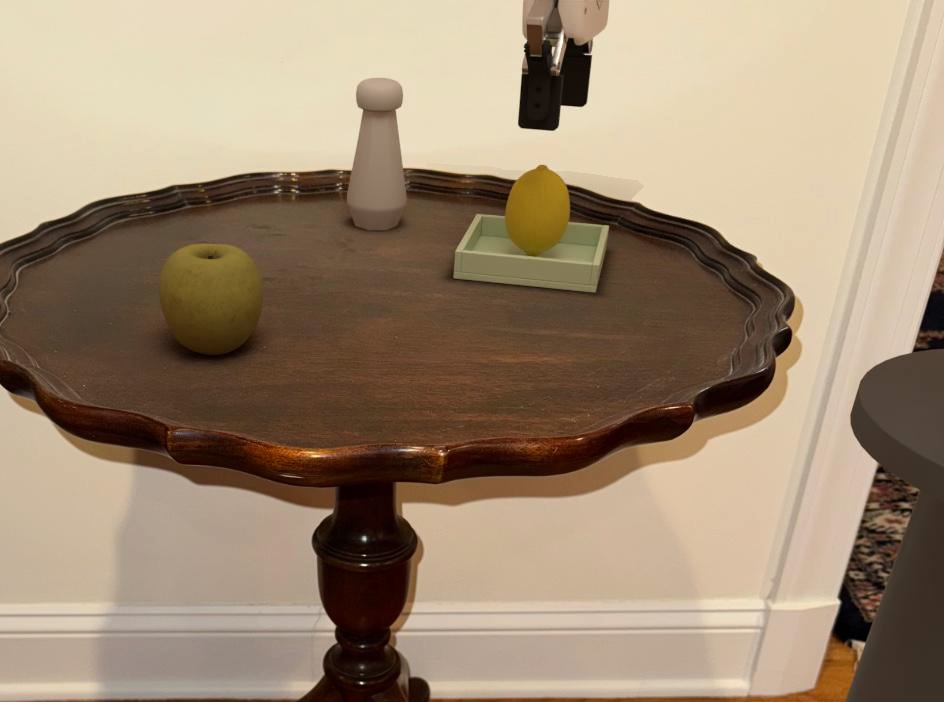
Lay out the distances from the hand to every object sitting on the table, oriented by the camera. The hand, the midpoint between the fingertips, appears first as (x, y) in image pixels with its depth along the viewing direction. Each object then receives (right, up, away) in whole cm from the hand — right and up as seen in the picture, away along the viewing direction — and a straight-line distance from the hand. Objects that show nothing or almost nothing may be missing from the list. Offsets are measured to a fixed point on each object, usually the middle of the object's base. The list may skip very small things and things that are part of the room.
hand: (553, 116), depth 93 cm
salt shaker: (-14, -3, +17) cm, 22 cm away
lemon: (-1, -10, +7) cm, 12 cm away
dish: (-1, -10, +8) cm, 13 cm away
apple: (-27, -21, -8) cm, 35 cm away
